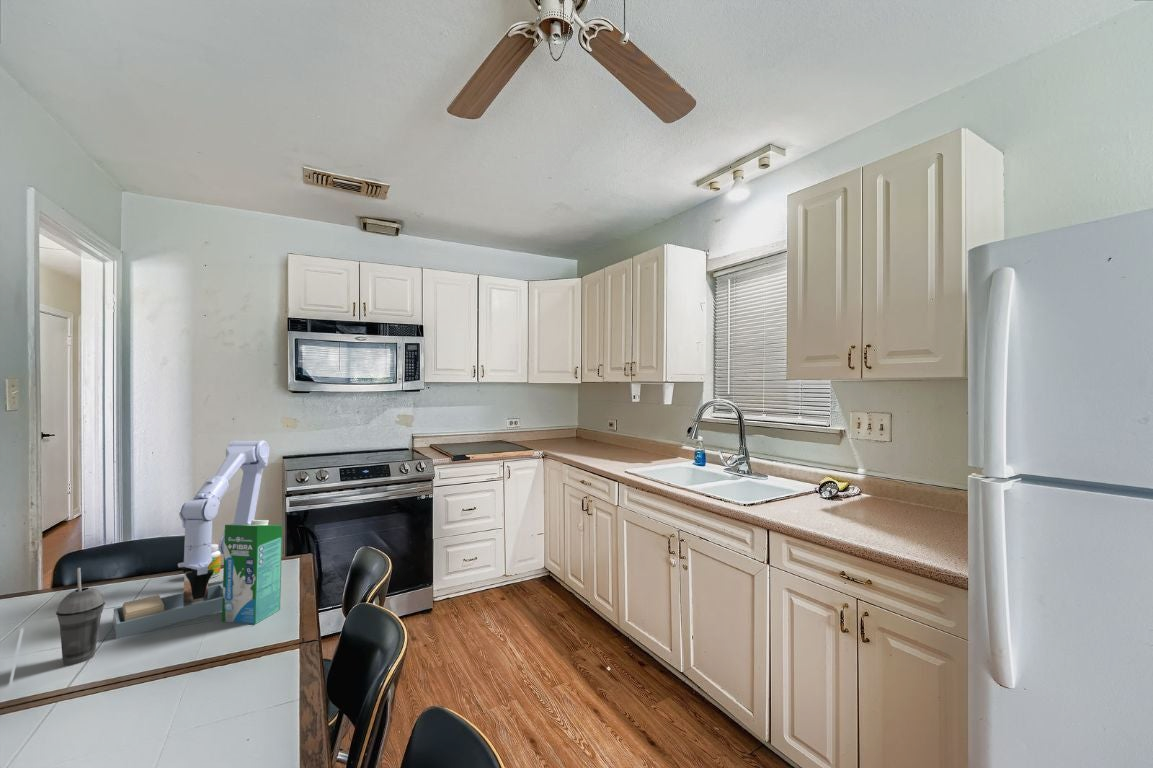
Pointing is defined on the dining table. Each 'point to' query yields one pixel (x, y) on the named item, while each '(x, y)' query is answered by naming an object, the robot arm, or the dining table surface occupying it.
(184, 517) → the robot arm
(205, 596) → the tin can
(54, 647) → the dining table surface
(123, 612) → the plain tan box
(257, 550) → the milk carton
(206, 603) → the tote
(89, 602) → the beverage cup
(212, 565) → the supplement bottle
